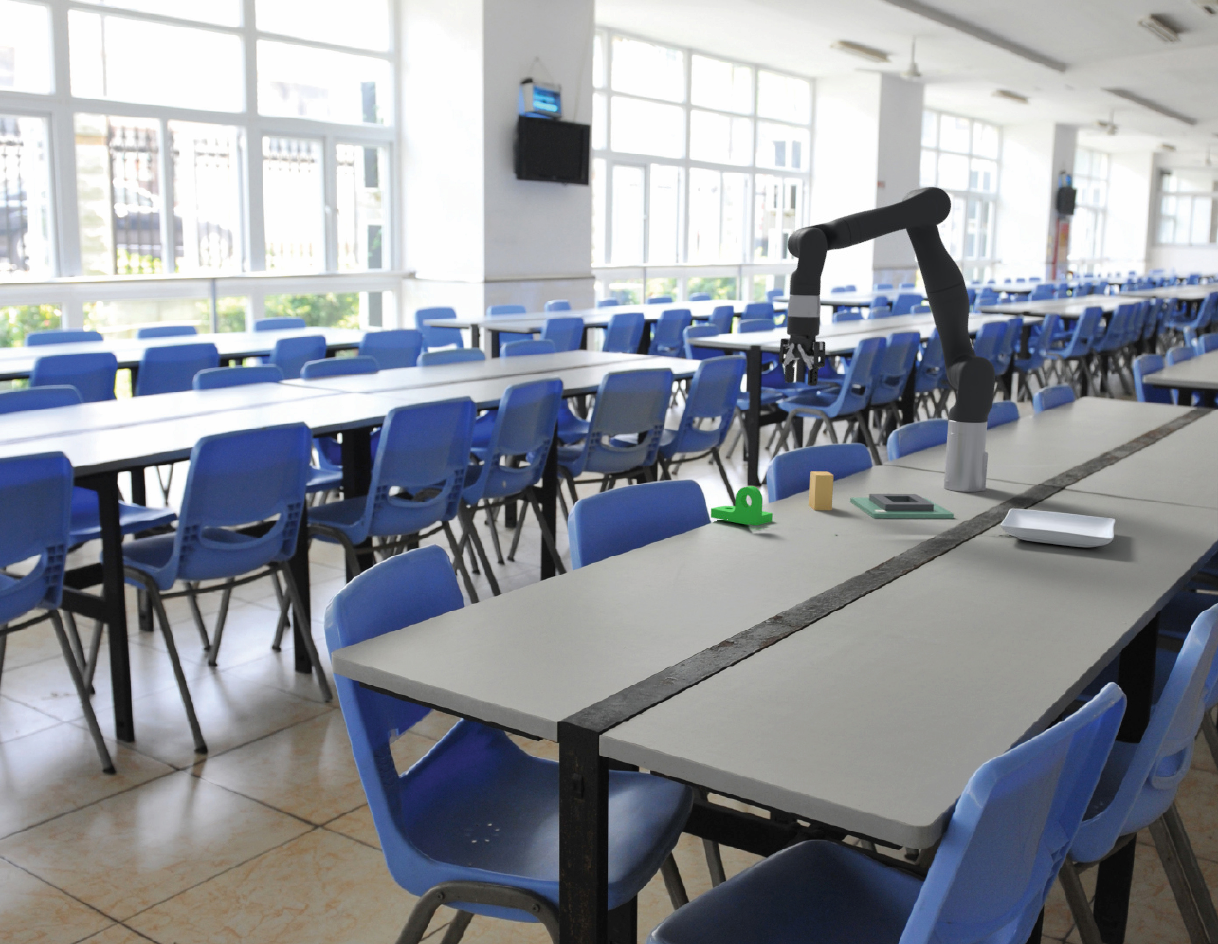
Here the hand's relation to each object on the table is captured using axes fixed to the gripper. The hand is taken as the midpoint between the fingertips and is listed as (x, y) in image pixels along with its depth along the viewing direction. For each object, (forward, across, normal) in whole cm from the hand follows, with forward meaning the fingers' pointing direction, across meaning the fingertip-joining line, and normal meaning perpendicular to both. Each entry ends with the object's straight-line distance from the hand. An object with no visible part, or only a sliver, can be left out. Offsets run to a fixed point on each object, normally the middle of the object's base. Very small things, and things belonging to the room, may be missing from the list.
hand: (800, 383), depth 266 cm
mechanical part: (+27, -17, +28) cm, 43 cm away
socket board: (+27, -24, -11) cm, 38 cm away
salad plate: (+27, -57, -23) cm, 68 cm away
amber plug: (+27, -15, +4) cm, 31 cm away
